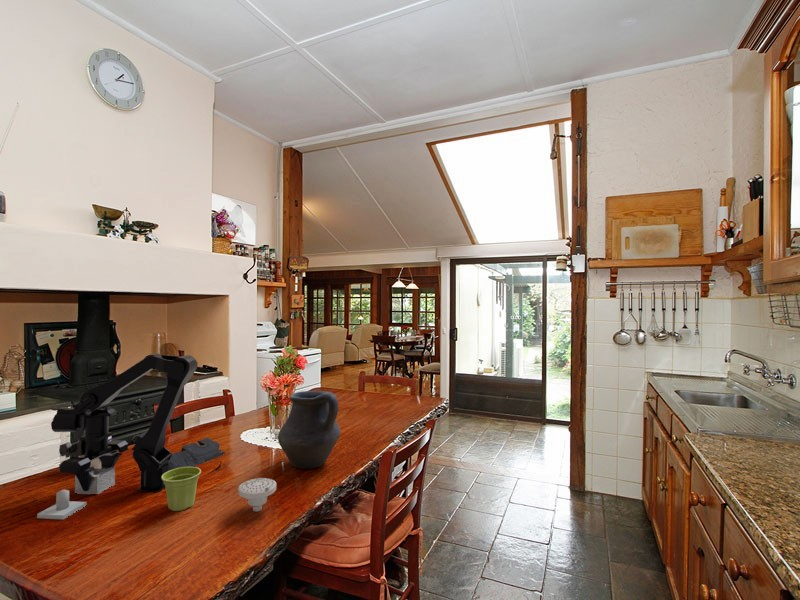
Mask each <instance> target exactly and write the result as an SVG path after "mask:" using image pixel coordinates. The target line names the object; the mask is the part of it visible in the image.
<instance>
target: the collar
mask: <svg viewBox="0 0 800 600" xmlns="http://www.w3.org/2000/svg"><path fill="white" fill-rule="evenodd" d="M115 485H116V467H114V468H112V467H94V471H93V475H92V479H91V482H90V486H89V489H88V491H83V489H82V487H81V485H80V482H79V480H78V478H77V477H76V475H75V476H74V494H75V493H77V494H76V495H90V494H98V495H99V494H101V493H103V492H104V490H105V491H106V490H108V489H109V487H110V488H112V487H114V486H115ZM111 486H112V487H111Z"/></svg>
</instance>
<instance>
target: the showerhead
mask: <svg viewBox="0 0 800 600" xmlns="http://www.w3.org/2000/svg"><path fill="white" fill-rule="evenodd" d="M276 491H277V482H276V481H275V480H274V479H272V478H265V477H258V478H253V479H249V480H245V481H244V482H243V483H241V484H240V485H239V486H238V495H239V496H240V497H241V498H244V499H247V504H248V505H249V506H251V507H252V511H253V512H260V511H262V509H263V505H264V504H266V503H267V502H268V496H271V495H272V494H274V493H275V492H276Z"/></svg>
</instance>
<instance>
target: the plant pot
mask: <svg viewBox="0 0 800 600" xmlns="http://www.w3.org/2000/svg"><path fill="white" fill-rule="evenodd" d="M201 473H202V470H201V468H199V467H198V466H195V467H181V468H176V469H173V470H170V471H168V472H166V473H164V474H163V475H162V477H161V478H162V480H163V482H164V485H165V488H164V489H165V492H166V500H167V506H168V507H167V508H168V510H171V511H173V512H179V511H185V510H186V509H188V508H191V507H192V506H194V505H195V501H196V492H197V485H198V480H199V478H200V475H201Z"/></svg>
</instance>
